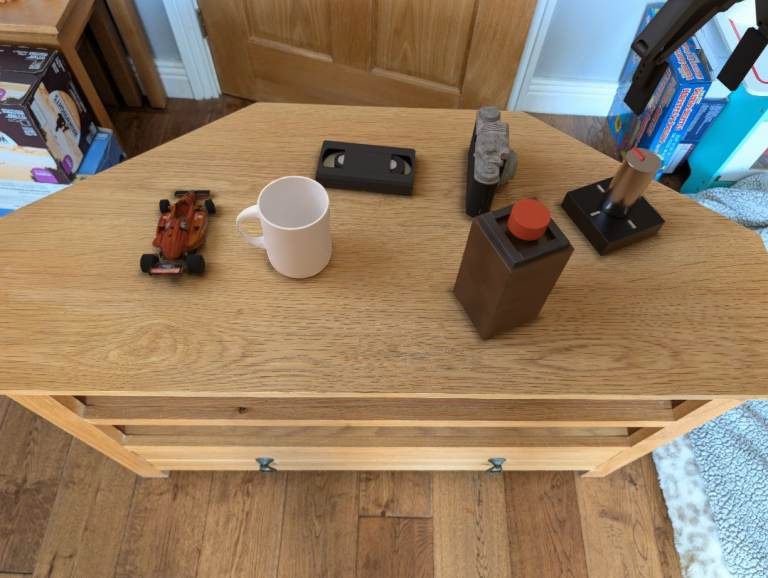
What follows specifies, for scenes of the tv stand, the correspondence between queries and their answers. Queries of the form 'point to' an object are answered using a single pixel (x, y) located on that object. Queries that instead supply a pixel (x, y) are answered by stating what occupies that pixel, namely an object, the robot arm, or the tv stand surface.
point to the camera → (488, 161)
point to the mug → (292, 225)
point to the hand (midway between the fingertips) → (680, 95)
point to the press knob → (529, 219)
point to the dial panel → (609, 219)
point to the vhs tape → (366, 168)
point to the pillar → (508, 272)
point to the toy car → (179, 235)
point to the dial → (630, 182)
